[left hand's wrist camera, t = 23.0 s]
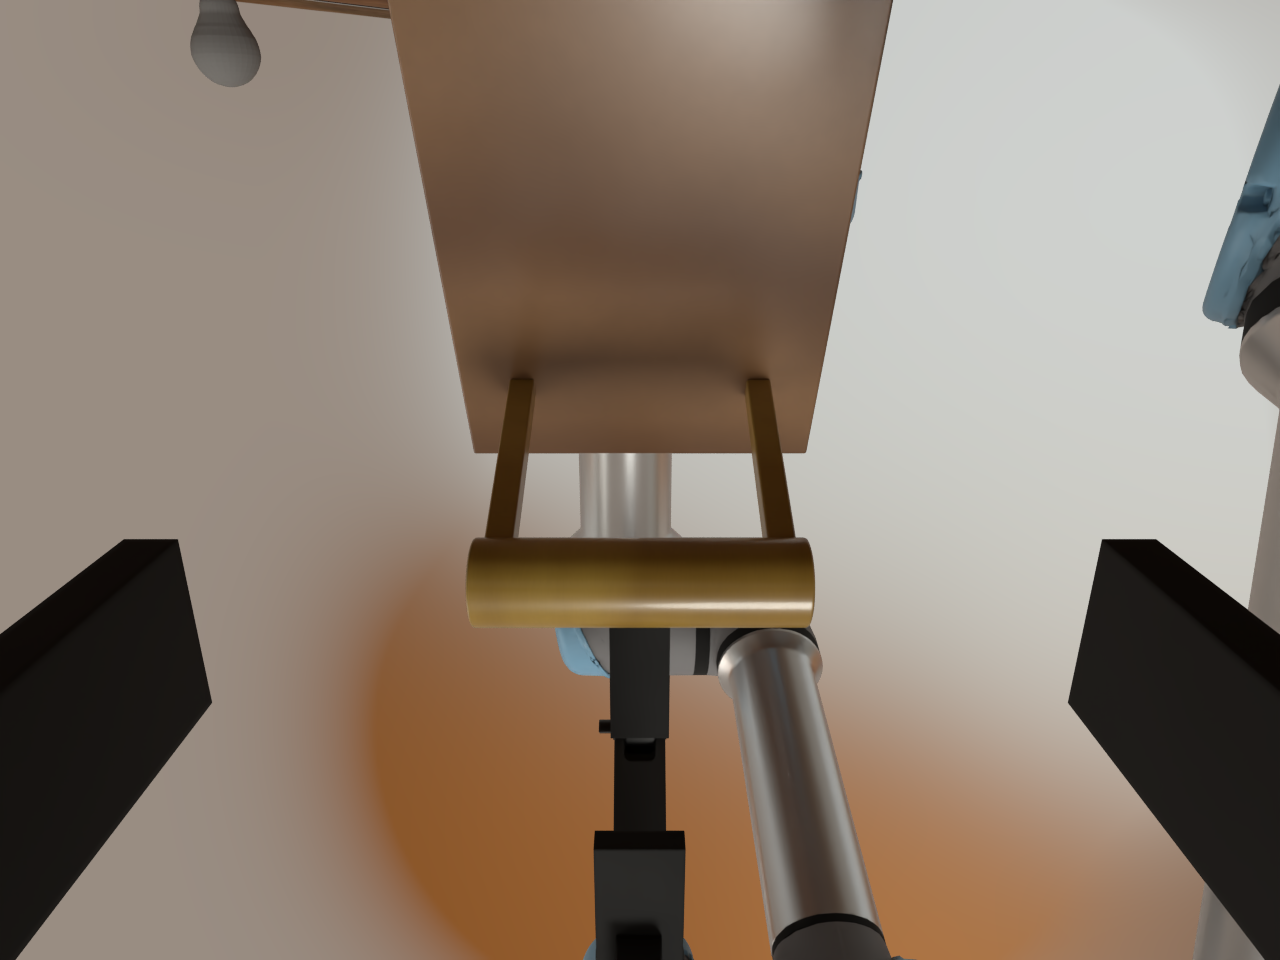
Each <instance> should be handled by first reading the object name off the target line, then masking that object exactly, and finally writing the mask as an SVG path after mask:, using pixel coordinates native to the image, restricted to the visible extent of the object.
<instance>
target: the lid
mask: <svg viewBox="0 0 1280 960" xmlns="http://www.w3.org/2000/svg"><path fill="white" fill-rule="evenodd" d="M892 3H893V0H388V5H389V11H390V16H391V21H392V26H393V31H394V37H395V42H396V47H397V52H398V58H399V63H400V68H401V73H402V78H403V83H404V89H405V94H406V99H407V104H408V110H409V115H410V120H411V125H412V131H413V136H414V141H415V146H416V151H417V156H418V162H419V167H420V172H421V177H422V183H423V188H424V193H425V198H426V203H427V209H428V214H429V219H430V224H431V229H432V235H433V240H434V245H435V250H436V256H437V261H438V266H439V271H440V276H441V282H442V287H443V292H444V297H445V302H446V308H447V313H448V318H449V323H450V329H451V334H452V339H453V344H454V350H455V355H456V360H457V365H458V370H459V375H460V381H461V386H462V391H463V396H464V402H465V407H466V412H467V417H468V422H469V428H470V433H471V438H472V443H473V449H474V452H475V453H498V457H497V464H496V470H495V476H494V483H493V489H492V495H491V501H490V508H489V514H488V520H487V526H486V533H485V538H475V539H474V540H473V541H472V543H471V546H470V549H469V554H468V560H467V568H466V606H467V613H468V618H469V621H470V624H471V626H472V627H474V628H806V627H808V626H809V625H810V623H811V620H812V617H813V611H814V602H815V572H814V562H813V555H812V551H811V547H810V544H809V542H808V540H807V539H806V538H796V537H795V531H794V525H793V518H792V512H791V506H790V500H789V494H788V487H787V481H786V475H785V468H784V462H783V456H782V453H806V450H807V445H808V439H809V434H810V429H811V424H812V419H813V413H814V408H815V403H816V398H817V393H818V387H819V382H820V377H821V372H822V367H823V362H824V356H825V351H826V346H827V341H828V335H829V330H830V325H831V320H832V315H833V309H834V304H835V299H836V294H837V289H838V284H839V278H840V273H841V268H842V263H843V257H844V252H845V247H846V242H847V237H848V231H849V226H850V221H851V216H852V211H853V206H854V200H855V195H856V190H857V185H858V180H859V174H860V169H861V164H862V159H863V154H864V149H865V143H866V138H867V133H868V128H869V123H870V117H871V112H872V107H873V102H874V96H875V91H876V86H877V81H878V75H879V71H880V65H881V60H882V55H883V50H884V45H885V39H886V34H887V29H888V24H889V19H890V13H891V8H892ZM529 453H752V458H753V466H754V473H755V481H756V489H757V497H758V505H759V513H760V521H761V529H762V536H763V538H518V534H519V526H520V518H521V510H522V502H523V494H524V486H525V478H526V470H527V462H528V454H529Z"/></svg>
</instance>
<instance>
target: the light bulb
mask: <svg viewBox="0 0 1280 960" xmlns="http://www.w3.org/2000/svg"><path fill="white" fill-rule="evenodd" d="M199 7H200V14H199V17H198V20H197V23H196V26H195V28H194V31H193V33H192V36H191V43H190V46H191V55H192V57H193V60H194V62H195V64H196V65H197V67H198V68H199V69H200V71H201V72H202V73H203V74H204V75H205V76H206V77H207V78H209V79H210V80H211V81H213V82H215V83H217V84H219V85H223V86H227V87H237V86H241V85H244V84H246V83H248V82H249V81H251V80H252V79H253V77H254V76H255V75H256V73H257V71H258V69H259V66H260V62H261V54H260V50H259V46H258V43H257V41H256V39H255V37H254V36H253V34H252V33H251V31H250V29H249V28H248V27H247V25H246V24H245V22H244V20H243V19H242V17H241V15H240V12H239V8H238V5H237V3H236V1H235V0H200V3H199Z"/></svg>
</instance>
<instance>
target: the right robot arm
mask: <svg viewBox="0 0 1280 960" xmlns="http://www.w3.org/2000/svg"><path fill="white" fill-rule="evenodd" d="M861 177H862V171H861V170H860V174H859V180H860V179H861ZM859 180H858V184H859ZM857 191H858V185H857V190H856V195H855V200H854V206H853V211H852V216H851V221H850V223H851V222H852V219H853V217H854V213H855V206H856V199H857ZM671 459H672V453H579V473H580V512H581V513H580V514H581V528H580V529H579V530H578V531H577V532H576V533H575V534H573V535H572V536H571V537H570V538H682V537H681V536H680V535H679V534H678V533H677V532H676V531H674V530H673V529H672V528H671ZM555 630H556V636H557V641H558V645H559V649H560V653H561V656H562V659H563V661H564V663H565V664H566V665H567V667H568V668H569V669H570V670H571V671H572V672H574V673H576V674H579V675H594V676H605V677H607V678H610V718H611V720H599V732H600V733H611V738H613V739H614V740H615V750H614V831H595V837H594V883H595V924H596V939H595V940H594V941H593V942H592V944H591V945H590V946H589V948H588V950H587V952H586V954H585V956H584V959H583V960H694V959H693V955H692V952H691V949H690V947H689V945H688V943H687V942H686V940H685V939H684V938H683V931H684V889H685V835H684V831H666V783H665V739H666V738H669V682H670V675H715V676H718V678H719V682H720V685H721V687H722V689H723V690H724V692H725V693H726V694H727V695H728V696H729V697H730V698H732V699H733V704H734V710H735V717H736V724H737V730H738V737H739V743H740V750H741V757H742V763H743V770H744V776H745V783H746V790H747V796H748V803H749V810H750V816H751V823H752V829H753V836H754V843H755V849H756V856H757V863H758V869H759V875H760V882H761V889H762V896H763V902H764V909H765V915H766V922H767V929H768V935H769V942H770V948H771V955H772V957H773V960H913V959H903V958H902V957H900V956H896V957H893V958H891V956H890V953H889V951H888V948H887V946H886V943H885V939H884V936H883V932H882V928H881V924H880V921H879V917H878V913H877V909H876V905H875V902H874V898H873V894H872V890H871V887H870V883H869V879H868V875H867V871H866V868H865V864H864V860H863V856H862V853H861V849H860V845H859V841H858V837H857V834H856V830H855V826H854V822H853V819H852V815H851V811H850V807H849V803H848V800H847V796H846V792H845V788H844V785H843V781H842V777H841V773H840V770H839V766H838V762H837V758H836V755H835V751H834V747H833V743H832V739H831V735H830V732H829V728H828V724H827V720H826V717H825V713H824V709H823V705H822V701H821V698H820V694H819V690H818V686H817V683H818V681H819V679H820V677H821V674H822V659H821V655H820V652H819V648H818V645H817V641H816V638H815V636H814V634H813V632H812V629H811V627H810V625H809V626H808V627H806V628H555Z"/></svg>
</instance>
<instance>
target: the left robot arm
mask: <svg viewBox="0 0 1280 960" xmlns="http://www.w3.org/2000/svg"><path fill="white" fill-rule="evenodd" d="M1203 313H1204V315H1205V316H1206V317H1207V318H1208V319H1210V320H1212V321H1217V322H1220V323H1222V324H1223V325H1225V326H1229V328H1233V329H1236V328H1238V327H1243V326H1244V330H1243V336H1242V342H1241V348H1240V355H1239V356H1240V366H1241V370H1242V374H1243V375H1244V376H1245V378H1246V379H1247V381H1248V382H1249V383H1250V384H1251V385H1252V386H1253V387H1254V388H1255V389H1256V390H1257V391H1258V392H1259V393H1260V394H1262V395H1263V396H1264V397H1266V398H1267V399H1268V400H1269V401H1271V402H1272V403H1273V404H1274V405H1276V406H1277V407H1278V408H1279V410H1280V86H1279V88H1278V91H1277V94H1276V96H1275V99H1274V102H1273V104H1272V107H1271V110H1270V113H1269V115H1268V118H1267V121H1266V124H1265V127H1264V130H1263V132H1262V135H1261V138H1260V141H1259V144H1258V146H1257V149H1256V152H1255V155H1254V158H1253V161H1252V163H1251V166H1250V169H1249V172H1248V175H1247V178H1246V181H1245V184H1244V187H1243V191H1242V194H1241V197H1240V199H1239V201H1238V203H1237V206H1236V209H1235V213H1234V215H1233V218H1232V221H1231V224H1230V226H1229V228H1228V231H1227V234H1226V237H1225V240H1224V242H1223V245H1222V248H1221V251H1220V254H1219V257H1218V260H1217V263H1216V266H1215V269H1214V272H1213V275H1212V278H1211V281H1210V284H1209V287H1208V290H1207V293H1206V296H1205V299H1204V302H1203ZM211 703H212V700H211V695H210V690H209V686H208V681H207V676H206V671H205V667H204V662H203V657H202V652H201V648H200V643H199V638H198V633H197V628H196V624H195V619H194V614H193V609H192V605H191V600H190V595H189V590H188V585H187V581H186V576H185V571H184V566H183V562H182V557H181V552H180V547H179V543H178V539H124V540H122V541H121V542H120V543H118V544H117V545H116V546H115V547H113V548H112V549H111V550H109V551H108V552H107V553H105V554H104V555H103V556H102V557H100V558H99V559H98V560H96V561H95V562H94V563H92V564H91V565H90V566H89V567H87V568H86V569H85V570H83V571H82V572H81V573H79V574H78V575H77V576H76V577H74V578H73V579H72V580H70V581H69V582H68V583H66V584H65V585H64V586H62V587H61V588H60V589H59V590H57V591H56V592H55V593H53V594H52V595H51V596H49V597H48V598H47V599H46V600H44V601H43V602H42V603H40V604H39V605H38V606H36V607H35V608H34V609H33V610H31V611H30V612H29V613H27V614H26V615H25V616H23V617H22V618H21V619H19V620H18V621H17V622H16V623H14V624H13V625H12V626H10V627H9V628H8V629H7V630H5V631H4V632H3V633H1V634H0V960H16V958H17V957H18V956H19V954H20V953H21V952H22V951H23V949H24V948H25V947H26V945H27V944H28V943H29V941H30V940H31V939H32V937H33V936H34V935H35V934H36V932H37V931H38V930H39V928H40V927H41V926H42V924H43V923H44V922H45V920H46V919H47V918H48V917H49V915H50V914H51V913H52V911H53V910H54V909H55V907H56V906H57V905H58V903H59V902H60V901H61V900H62V898H63V897H64V896H65V894H66V893H67V892H68V890H69V889H70V888H71V886H72V885H73V884H74V883H75V881H76V880H77V879H78V877H79V876H80V875H81V873H82V872H83V871H84V869H85V868H86V867H87V866H88V864H89V863H90V862H91V860H92V859H93V858H94V856H95V855H96V854H97V852H98V851H99V850H100V849H101V847H102V846H103V845H104V843H105V842H106V841H107V839H108V838H109V837H110V835H111V834H112V833H113V832H114V830H115V829H116V828H117V826H118V825H119V824H120V822H121V821H122V820H123V818H124V817H125V816H126V815H127V813H128V812H129V811H130V809H131V808H132V807H133V805H134V804H135V803H136V801H137V800H138V799H139V797H140V796H141V795H142V794H143V792H144V791H145V790H146V788H147V787H148V786H149V784H150V783H151V782H152V781H153V779H154V778H155V777H156V775H157V774H158V773H159V771H160V770H161V769H162V767H163V766H164V765H165V764H166V762H167V761H168V760H169V758H170V757H171V756H172V754H173V753H174V752H175V750H176V749H177V748H178V746H179V745H180V744H181V743H182V741H183V740H184V739H185V737H186V736H187V735H188V733H189V732H190V731H191V730H192V728H193V727H194V726H195V724H196V723H197V722H198V720H199V719H200V718H201V716H202V715H203V714H204V713H205V711H206V710H207V709H208V707H209V706H210V705H211ZM1068 703H1069V705H1070V706H1071V707H1072V709H1073V710H1074V711H1075V713H1076V714H1077V715H1078V716H1079V718H1080V719H1081V720H1082V722H1083V723H1084V724H1085V726H1086V727H1087V728H1088V730H1089V731H1090V732H1091V733H1092V735H1093V736H1094V737H1095V739H1096V740H1097V741H1098V743H1099V744H1100V745H1101V747H1102V748H1103V749H1104V750H1105V752H1106V753H1107V754H1108V756H1109V757H1110V758H1111V760H1112V761H1113V762H1114V764H1115V765H1116V766H1117V767H1118V769H1119V770H1120V771H1121V773H1122V774H1123V775H1124V777H1125V778H1126V779H1127V781H1128V782H1129V783H1130V784H1131V786H1132V787H1133V788H1134V790H1135V791H1136V792H1137V794H1138V795H1139V796H1140V798H1141V799H1142V800H1143V801H1144V803H1145V804H1146V805H1147V807H1148V808H1149V809H1150V811H1151V812H1152V813H1153V815H1154V816H1155V817H1156V818H1157V820H1158V821H1159V822H1160V824H1161V825H1162V826H1163V828H1164V829H1165V830H1166V831H1167V833H1168V834H1169V835H1170V837H1171V838H1172V839H1173V841H1174V842H1175V843H1176V845H1177V846H1178V847H1179V849H1180V850H1181V851H1182V852H1183V854H1184V855H1185V856H1186V858H1187V859H1188V860H1189V862H1190V863H1191V864H1192V866H1193V867H1194V868H1195V869H1196V871H1197V872H1198V873H1199V875H1200V876H1201V877H1202V879H1203V880H1204V881H1205V885H1204V891H1203V897H1202V903H1201V910H1200V916H1199V922H1198V929H1197V935H1196V941H1195V948H1194V954H1193V960H1280V411H1279V418H1278V424H1277V430H1276V436H1275V443H1274V449H1273V456H1272V462H1271V468H1270V474H1269V481H1268V487H1267V493H1266V499H1265V506H1264V512H1263V518H1262V525H1261V531H1260V537H1259V544H1258V550H1257V556H1256V563H1255V569H1254V575H1253V582H1252V588H1251V594H1250V600H1249V607H1248V609H1246V608H1245V607H1244V606H1242V605H1241V604H1240V603H1238V602H1237V601H1236V600H1234V599H1233V598H1232V597H1231V596H1229V595H1228V594H1227V593H1225V592H1224V591H1223V590H1221V589H1220V588H1219V587H1217V586H1216V585H1215V584H1214V583H1212V582H1211V581H1210V580H1208V579H1207V578H1206V577H1205V576H1203V575H1202V574H1201V573H1199V572H1198V571H1197V570H1195V569H1194V568H1193V567H1191V566H1190V565H1189V564H1188V563H1186V562H1185V561H1184V560H1182V559H1181V558H1180V557H1178V556H1177V555H1176V554H1175V553H1173V552H1172V551H1171V550H1169V549H1168V548H1167V547H1165V546H1164V545H1163V544H1162V543H1160V542H1159V541H1158V540H1156V539H1102V542H1101V547H1100V552H1099V557H1098V562H1097V566H1096V571H1095V576H1094V581H1093V585H1092V590H1091V595H1090V600H1089V605H1088V609H1087V614H1086V619H1085V624H1084V628H1083V633H1082V638H1081V643H1080V647H1079V652H1078V657H1077V662H1076V667H1075V672H1074V676H1073V681H1072V686H1071V690H1070V695H1069V700H1068Z"/></svg>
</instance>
